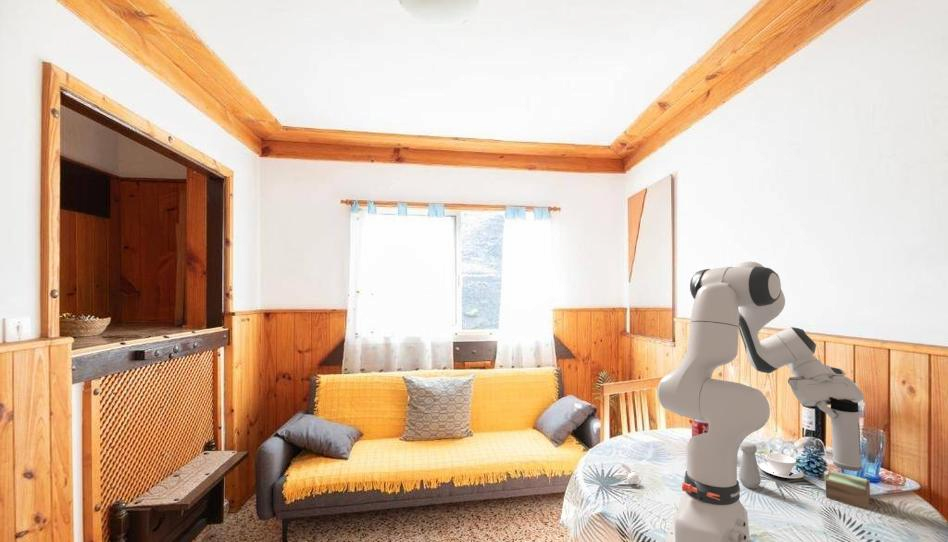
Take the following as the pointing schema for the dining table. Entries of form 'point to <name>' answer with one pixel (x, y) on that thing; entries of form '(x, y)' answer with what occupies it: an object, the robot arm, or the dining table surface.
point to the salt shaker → (749, 466)
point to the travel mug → (846, 435)
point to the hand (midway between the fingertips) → (846, 416)
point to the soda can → (699, 427)
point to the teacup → (779, 465)
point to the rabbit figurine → (628, 475)
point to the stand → (848, 489)
